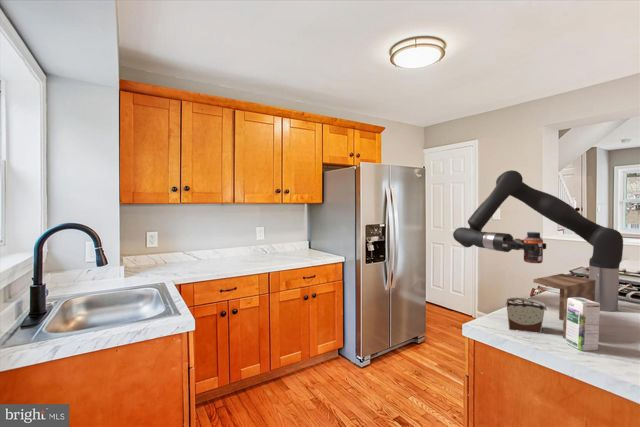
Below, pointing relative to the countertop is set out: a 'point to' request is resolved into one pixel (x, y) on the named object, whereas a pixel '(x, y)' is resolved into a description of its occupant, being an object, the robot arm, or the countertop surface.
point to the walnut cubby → (569, 291)
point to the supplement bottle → (538, 253)
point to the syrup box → (582, 323)
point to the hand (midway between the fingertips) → (540, 247)
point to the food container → (525, 314)
